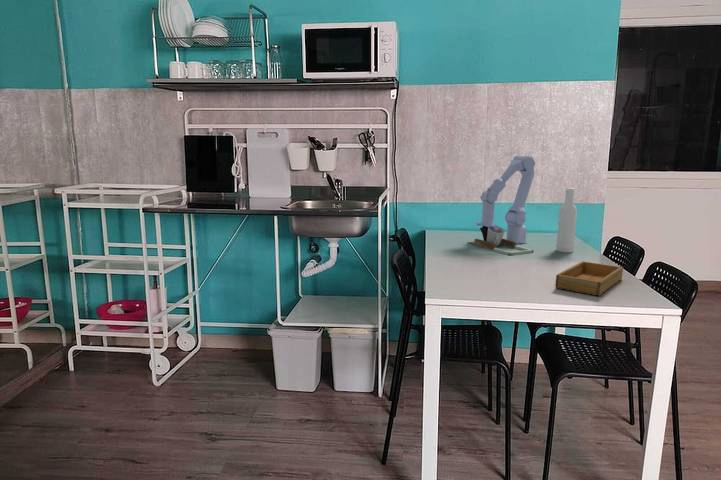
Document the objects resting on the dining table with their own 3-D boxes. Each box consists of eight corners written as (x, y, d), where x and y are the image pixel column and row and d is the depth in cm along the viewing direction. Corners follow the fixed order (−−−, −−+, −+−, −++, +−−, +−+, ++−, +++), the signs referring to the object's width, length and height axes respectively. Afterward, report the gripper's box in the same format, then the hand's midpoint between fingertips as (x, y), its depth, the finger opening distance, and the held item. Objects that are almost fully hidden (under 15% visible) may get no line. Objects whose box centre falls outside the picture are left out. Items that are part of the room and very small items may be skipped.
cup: (503, 251, 260) (507, 236, 257) (487, 249, 260) (490, 234, 257) (499, 240, 270) (502, 226, 266) (483, 238, 270) (486, 224, 266)
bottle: (570, 249, 260) (576, 187, 254) (575, 253, 252) (581, 189, 246) (553, 249, 260) (559, 187, 255) (558, 252, 253) (563, 188, 247)
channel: (495, 242, 274) (496, 236, 273) (515, 247, 262) (515, 241, 261) (474, 244, 267) (474, 239, 267) (493, 250, 255) (493, 244, 255)
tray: (581, 273, 215) (582, 260, 214) (621, 280, 206) (623, 266, 205) (554, 290, 192) (555, 274, 191) (599, 298, 183) (600, 282, 181)
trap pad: (488, 240, 279) (488, 240, 278) (495, 242, 274) (495, 241, 274) (467, 242, 272) (467, 242, 272) (473, 244, 268) (473, 244, 268)
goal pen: (516, 248, 261) (516, 245, 261) (533, 252, 251) (533, 250, 251) (493, 250, 255) (493, 248, 254) (510, 255, 245) (510, 252, 245)
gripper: (472, 213, 272) (470, 239, 274) (491, 217, 259) (489, 245, 262) (483, 212, 275) (481, 238, 277) (502, 216, 262) (500, 243, 265)
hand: (486, 241), depth 270 cm, fingers closed
